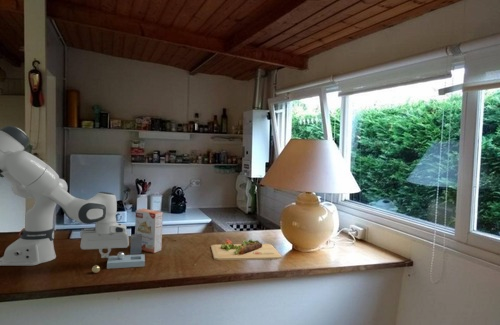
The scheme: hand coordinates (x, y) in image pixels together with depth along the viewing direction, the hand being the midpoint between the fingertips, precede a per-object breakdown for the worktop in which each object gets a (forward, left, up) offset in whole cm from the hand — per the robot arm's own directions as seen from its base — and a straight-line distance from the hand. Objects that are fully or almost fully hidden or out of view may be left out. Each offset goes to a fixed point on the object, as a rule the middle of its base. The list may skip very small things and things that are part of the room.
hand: (104, 257), depth 154 cm
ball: (+7, 0, +1) cm, 7 cm away
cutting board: (+69, +7, -4) cm, 69 cm away
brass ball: (-3, -9, -2) cm, 9 cm away
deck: (+9, 0, -3) cm, 10 cm away
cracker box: (+19, +20, -4) cm, 28 cm away
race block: (+13, +9, -1) cm, 16 cm away
